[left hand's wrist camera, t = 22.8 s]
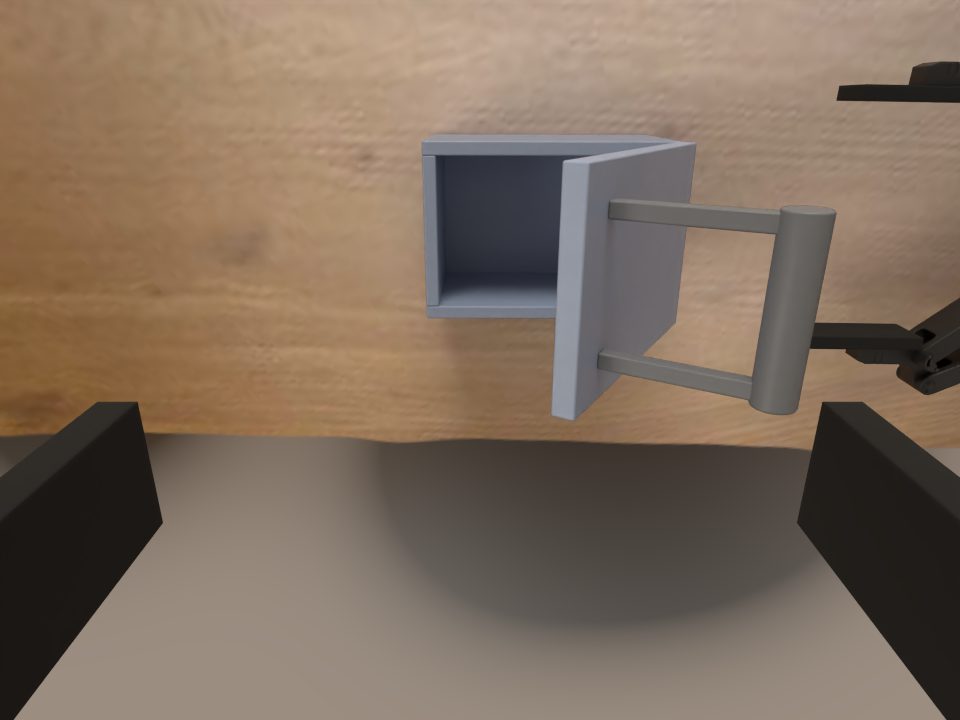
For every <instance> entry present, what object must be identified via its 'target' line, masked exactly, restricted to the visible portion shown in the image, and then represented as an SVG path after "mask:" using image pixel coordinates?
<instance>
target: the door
mask: <svg viewBox="0 0 960 720" xmlns="http://www.w3.org/2000/svg"><path fill="white" fill-rule="evenodd" d="M695 152H696V143H695V142H675V143H669V144H663V145H657V146H650V147H644V148H638V149H632V150H626V151H620V152H614V153H608V154H601V155H595V156H589V157H583V158H577V159H571V160H565V161H563V170H562V192H561V213H560V235H559V257H558V278H557V300H556V322H555V343H554V365H553V387H552V409H551V415H552V416H555V417H559V418H563V419H567V420H571V421H575V420H576V419H577V418H578V417H579V416H580V415H581V414H582V413H583V412H584V411H585V410H586V409H587V408H588V407H589V406H590V405H591V404H592V403H593V402H594V401H595V400H596V399H597V398H598V397H599V396H600V395H601V394H603V393H604V392H605V391H606V390H607V389H608V388H609V387H610V386H611V385H612V384H613V383H614V382H615V381H616V380H617V379H618V378H619V377H620V376H621V375H622V374H624V375H629V376H634V377H639V378H644V379H649V380H653V381H658V382H663V383H668V384H673V385H678V386H682V387H687V388H692V389H697V390H702V391H707V392H711V393H716V394H721V395H726V396H731V397H736V398H740V399H745V400H748V401H749V404H750V405H751V406H752V407H753V408H754V409H756V410H759V411H761V412H764V413H768V414H773V415H789V414H793V413H795V412H796V411H797V409H798V405H799V400H800V395H801V390H802V385H803V379H804V374H805V369H806V364H807V359H808V354H809V349H810V344H811V339H812V334H813V329H814V324H815V319H816V314H817V309H818V304H819V299H820V294H821V289H822V284H823V279H824V273H825V268H826V263H827V258H828V253H829V248H830V243H831V238H832V233H833V228H834V223H835V218H836V211H835V210H833V209H830V208H826V207H818V206H805V205H792V206H784V207H782V208H781V209H780V210H770V209H756V208H742V207H729V206H715V205H701V204H689V203H690V195H691V186H692V177H693V169H694V160H695ZM687 226H688V227H699V228H710V229H721V230H732V231H743V232H755V233H766V234H776V237H775V243H774V249H773V255H772V261H771V267H770V273H769V279H768V285H767V291H766V297H765V303H764V309H763V315H762V321H761V327H760V333H759V339H758V345H757V351H756V357H755V363H754V369H753V375H752V377H751V376H745V375H740V374H735V373H730V372H724V371H719V370H714V369H709V368H703V367H698V366H693V365H688V364H682V363H677V362H672V361H667V360H661V359H656V358H651V357H646V356H642V355H643V354H644V353H645V352H646V351H647V350H648V349H649V348H650V347H651V346H652V345H653V344H654V343H655V342H656V341H657V340H658V339H659V338H660V337H661V336H662V335H664V334H665V333H666V332H667V331H668V330H669V329H670V328H671V327H672V326H673V325H674V324H675V323H676V315H677V306H678V298H679V289H680V280H681V272H682V263H683V255H684V246H685V237H686V229H687Z"/></svg>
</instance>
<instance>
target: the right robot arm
mask: <svg viewBox="0 0 960 720" xmlns="http://www.w3.org/2000/svg"><path fill="white" fill-rule="evenodd" d="M837 101H887V102H944V103H960V62H931V63H923V64H920V65H917V66H915V67H913V69H912V73H911V77H910V81H909V85H872V84H865V85H846V86H839V91H838V96H837ZM810 349H846V353H847V354H849V355H850V356H852V357H853V358H854V359H856V360H857V361H860V362H862V363H864V364H899V365H900V366H899V367H898V369H897V371H896V375H897V377H898V378H900V379H901V380H903V381H904V382H906V383H907V384H909V385H910V386H912V387H913V388H915V389H916V390H918V391H920V392H921V393H923V394H924V395H930V394H934V393H936V392H939V391H941V390H944V389H946V388H949V387H952V386H954V385H957V384H959V383H960V298H959V299H957V300H956V301H954V302H953V303H951V304H950V305H948V306H946V307H945V308H943V309H942V310H940V311H939V312H937V313H936V314H934V315H933V316H931V317H930V318H928V319H926V320H925V321H923V322H922V323H920V324H919V325H917V326H916V327H914V328H913V329H911V330H910V331H908V330H907V329H905V328H903V327H901V326H899V325H897V324H866V323H815V324H814V329H813V334H812V339H811V344H810Z"/></svg>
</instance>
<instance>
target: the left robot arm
mask: <svg viewBox="0 0 960 720" xmlns="http://www.w3.org/2000/svg"><path fill="white" fill-rule="evenodd" d="M162 523H163V521H162V516H161V512H160V506H159V502H158V497H157V492H156V487H155V483H154V478H153V473H152V468H151V464H150V459H149V454H148V449H147V445H146V440H145V435H144V430H143V426H142V421H141V416H140V411H139V407H138V402H97V403H95V404H94V405H93V406H92V407H90V408H89V409H88V410H86V411H85V412H84V413H83V414H81V415H80V416H79V417H77V418H76V419H75V420H74V421H72V422H71V423H70V424H68V425H67V426H66V427H65V428H63V429H62V430H61V431H59V432H58V433H57V434H56V435H54V436H53V437H52V438H50V439H49V440H48V441H47V442H45V443H44V444H43V445H41V446H40V447H39V448H38V449H36V450H35V451H34V452H32V453H31V454H30V455H29V456H27V457H26V458H25V459H23V460H22V461H21V462H20V463H18V464H17V465H16V466H14V467H13V468H12V469H11V470H9V471H8V472H7V473H5V474H4V475H3V476H1V477H0V720H14V718H15V717H16V716H17V715H18V713H19V712H20V711H21V709H22V708H23V707H24V705H25V704H26V703H27V701H28V700H29V699H30V697H31V696H32V695H33V693H34V692H35V691H36V689H37V688H38V687H39V686H40V684H41V683H42V682H43V680H44V679H45V678H46V676H47V675H48V674H49V672H50V671H51V670H52V668H53V667H54V666H55V664H56V663H57V662H58V661H59V659H60V658H61V656H62V655H63V654H64V653H65V651H66V650H67V649H68V647H69V646H70V645H71V643H72V642H73V641H74V639H75V638H76V637H77V635H78V634H79V633H80V632H81V630H82V629H83V628H84V626H85V625H86V624H87V622H88V621H89V620H90V618H91V617H92V616H93V614H94V613H95V612H96V610H97V609H98V608H99V606H100V605H101V604H102V602H103V601H104V600H105V599H106V597H107V596H108V595H109V593H110V592H111V591H112V589H113V588H114V587H115V585H116V584H117V583H118V581H119V580H120V579H121V577H122V576H123V575H124V574H125V572H126V571H127V570H128V568H129V567H130V566H131V564H132V563H133V562H134V560H135V559H136V558H137V556H138V555H139V554H140V552H141V551H142V550H143V548H144V547H145V546H146V544H147V543H148V542H149V541H150V539H151V538H152V537H153V535H154V534H155V533H156V531H157V530H158V529H159V527H160V526H161V525H162ZM797 523H798V525H799V526H800V527H801V529H802V530H803V531H804V533H805V534H806V535H807V537H808V538H809V539H810V541H811V542H812V543H813V545H814V546H815V547H816V548H817V550H818V551H819V552H820V554H821V555H822V556H823V558H824V559H825V560H826V562H827V563H828V564H829V566H830V567H831V568H832V570H833V571H834V572H835V574H836V575H837V576H838V577H839V579H840V580H841V581H842V583H843V584H844V585H845V587H846V588H847V589H848V591H849V592H850V593H851V595H852V596H853V597H854V599H855V600H856V601H857V603H858V604H859V605H860V606H861V608H862V609H863V610H864V612H865V613H866V614H867V616H868V617H869V618H870V620H871V621H872V622H873V623H874V625H875V626H876V628H877V629H878V630H879V632H880V633H881V634H882V635H883V637H884V638H885V639H886V641H887V642H888V643H889V645H890V646H891V647H892V649H893V650H894V651H895V653H896V654H897V655H898V657H899V658H900V659H901V660H902V662H903V663H904V664H905V666H906V667H907V668H908V670H909V671H910V672H911V674H912V675H913V676H914V678H915V679H916V680H917V682H918V683H919V684H920V686H921V687H922V688H923V689H924V691H925V692H926V693H927V695H928V696H929V697H930V699H931V700H932V701H933V703H934V704H935V705H936V707H937V708H938V709H939V711H940V712H941V713H942V715H943V716H944V717H945V719H946V720H960V477H959V476H957V475H956V474H955V473H953V472H952V471H951V470H949V469H948V468H947V467H946V466H944V465H943V464H942V463H940V462H939V461H938V460H937V459H935V458H934V457H933V456H931V455H930V454H929V453H928V452H926V451H925V450H924V449H922V448H921V447H920V446H919V445H917V444H916V443H915V442H913V441H912V440H911V439H910V438H908V437H907V436H906V435H904V434H903V433H902V432H901V431H899V430H898V429H897V428H895V427H894V426H893V425H892V424H890V423H889V422H888V421H886V420H885V419H884V418H883V417H881V416H880V415H879V414H877V413H876V412H875V411H874V410H872V409H871V408H870V407H868V406H867V405H866V404H865V403H863V402H822V407H821V411H820V416H819V421H818V426H817V430H816V435H815V440H814V445H813V449H812V454H811V459H810V464H809V469H808V473H807V478H806V483H805V487H804V492H803V497H802V502H801V506H800V512H799V516H798V521H797Z"/></svg>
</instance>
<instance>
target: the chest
mask: <svg viewBox="0 0 960 720" xmlns="http://www.w3.org/2000/svg"><path fill="white" fill-rule="evenodd" d="M675 142H682V141H677V140H671V139H666V138H660V137H655V136H649V135H643V134H433V135H432V136H430V137H428V138H427V139H425V140H424V141H422V155H423V156H422V167H423V201H424V235H425V270H426V304H427V318H556V300H557V278H558V257H559V235H560V213H561V192H562V170H563V161H565V160H571V159H577V158H583V157H589V156H595V155H601V154H608V153H614V152H620V151H626V150H632V149H638V148H644V147H650V146H657V145H663V144H669V143H675Z"/></svg>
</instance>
